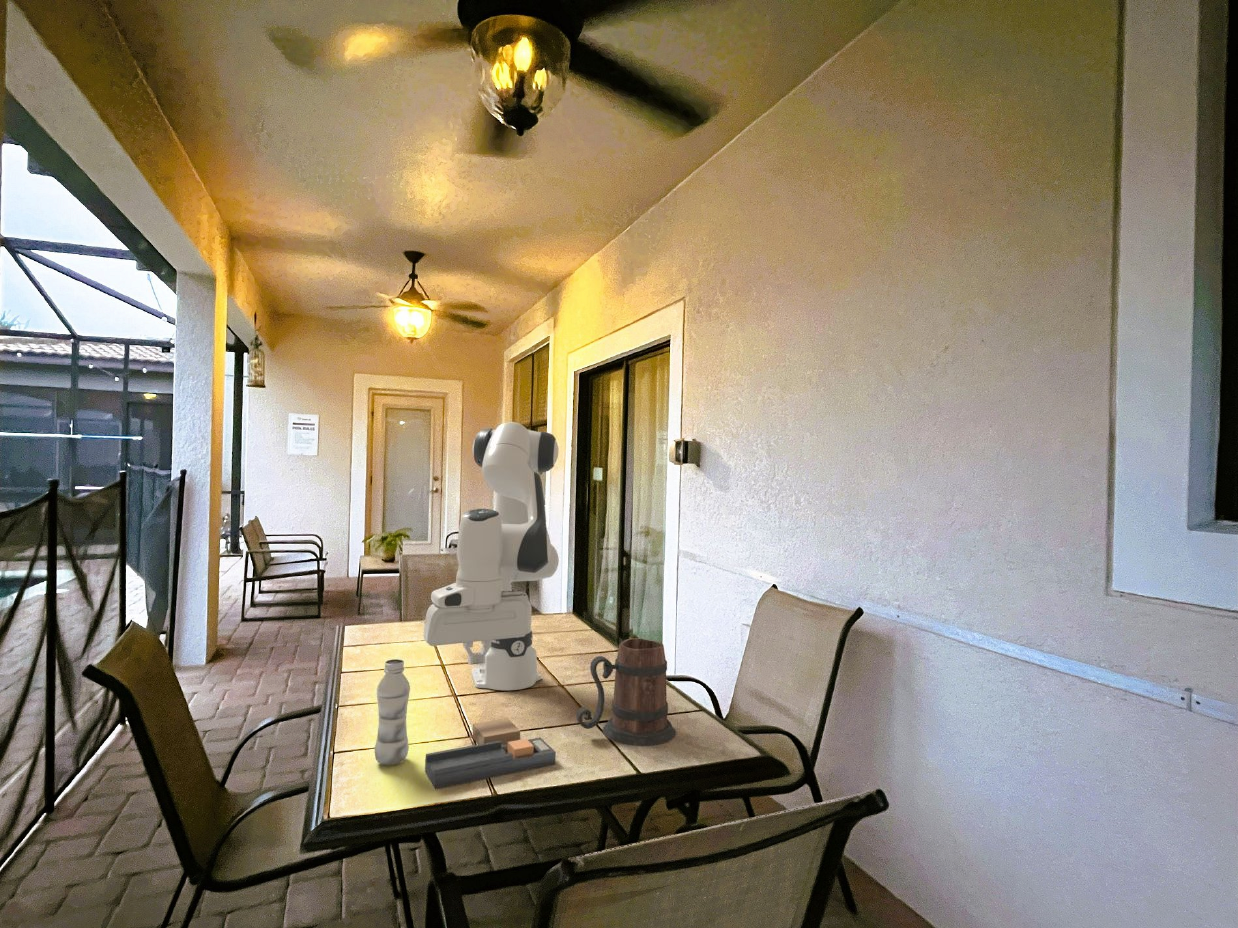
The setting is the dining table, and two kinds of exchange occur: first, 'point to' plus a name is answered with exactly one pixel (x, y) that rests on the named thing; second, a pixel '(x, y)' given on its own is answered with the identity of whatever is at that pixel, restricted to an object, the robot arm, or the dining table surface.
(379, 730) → the plastic bottle
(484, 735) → the brown square plate
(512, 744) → the peach foam cube
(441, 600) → the robot arm
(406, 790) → the dining table surface
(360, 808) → the dining table surface
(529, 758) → the grey slotted tray
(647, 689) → the tankard
